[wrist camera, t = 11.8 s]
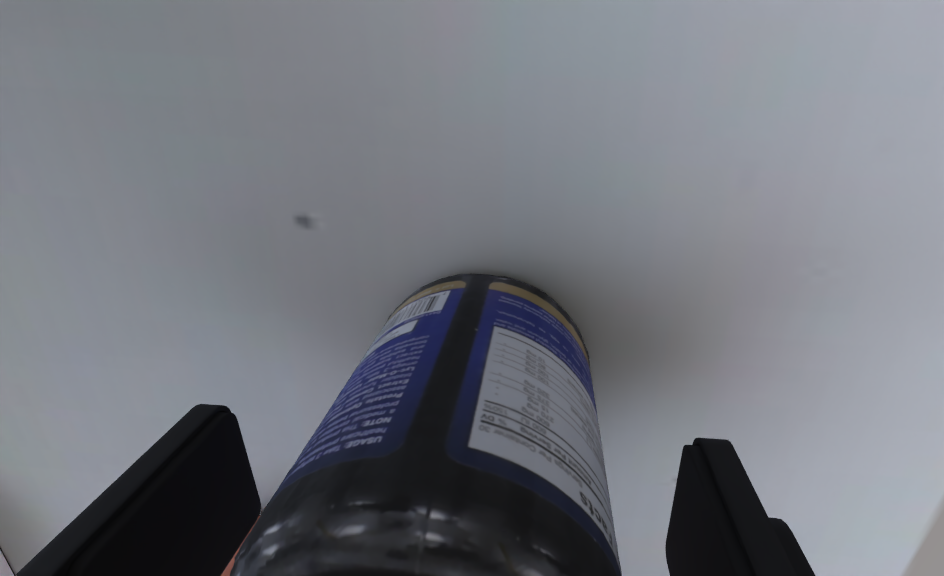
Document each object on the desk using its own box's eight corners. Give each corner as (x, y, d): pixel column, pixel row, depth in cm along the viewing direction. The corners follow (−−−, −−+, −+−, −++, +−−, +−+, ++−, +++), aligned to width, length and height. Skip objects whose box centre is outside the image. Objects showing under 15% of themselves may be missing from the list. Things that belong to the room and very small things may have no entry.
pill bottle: (399, 439, 16) (149, 1040, 6) (368, 267, 14) (-127, 789, 4) (589, 446, 15) (668, 1185, 5) (593, 261, 13) (754, 965, 3)
